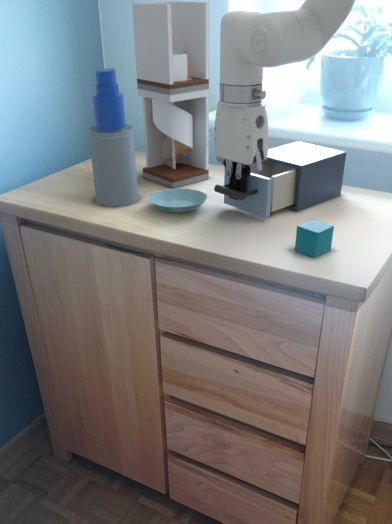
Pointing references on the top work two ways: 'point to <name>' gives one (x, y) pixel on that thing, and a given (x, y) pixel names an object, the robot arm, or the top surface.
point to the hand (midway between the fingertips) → (237, 197)
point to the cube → (314, 238)
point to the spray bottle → (112, 145)
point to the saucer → (178, 200)
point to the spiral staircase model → (174, 89)
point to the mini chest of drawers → (311, 171)
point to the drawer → (263, 189)
